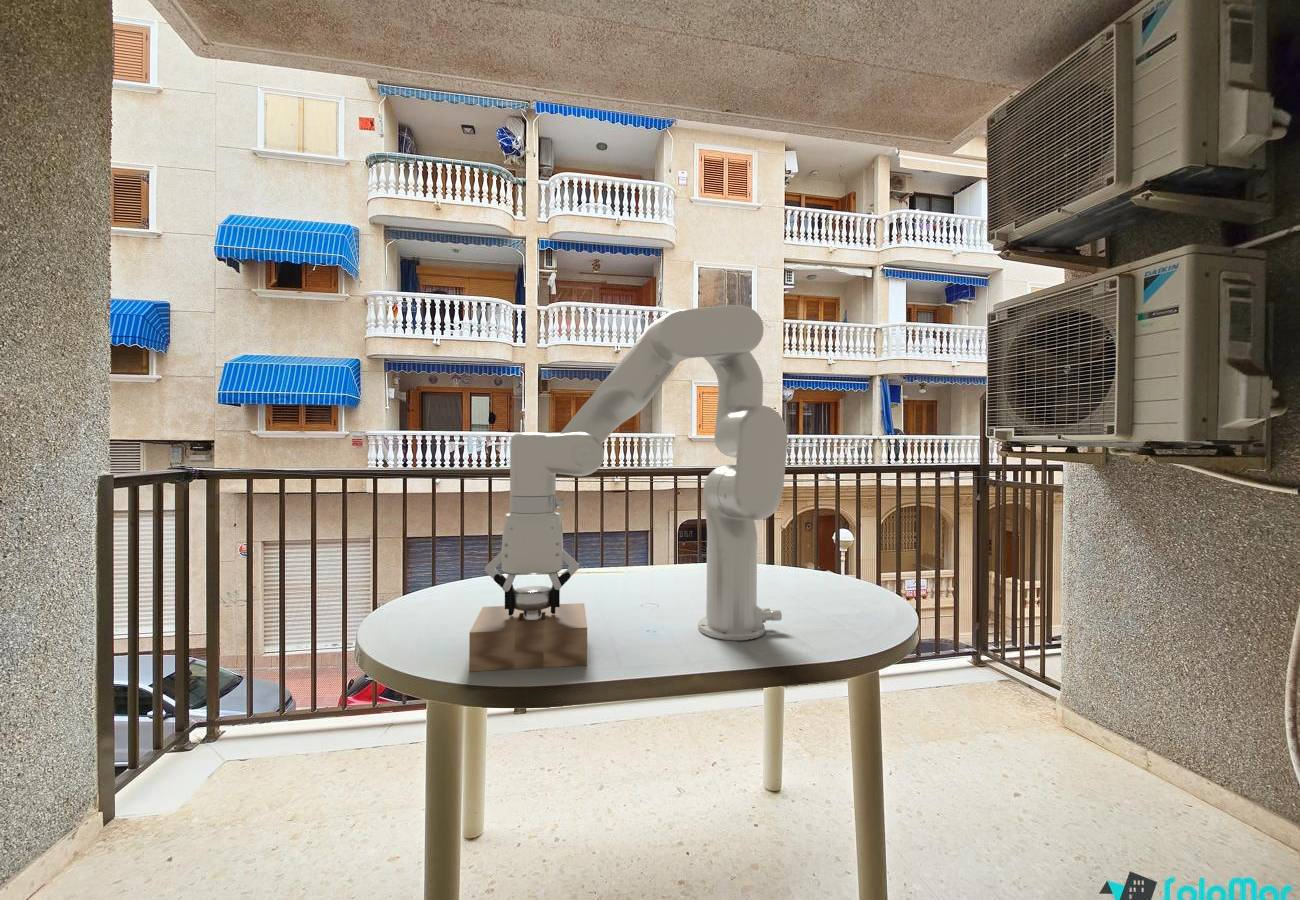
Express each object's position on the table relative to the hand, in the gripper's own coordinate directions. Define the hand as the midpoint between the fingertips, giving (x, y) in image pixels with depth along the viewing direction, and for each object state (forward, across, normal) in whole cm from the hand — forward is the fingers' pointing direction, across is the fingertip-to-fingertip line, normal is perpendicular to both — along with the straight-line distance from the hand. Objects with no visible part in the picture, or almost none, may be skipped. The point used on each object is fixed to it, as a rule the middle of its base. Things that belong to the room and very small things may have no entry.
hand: (532, 611), depth 93 cm
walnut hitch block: (+7, 0, 0) cm, 7 cm away
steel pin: (+4, 0, 0) cm, 4 cm away
